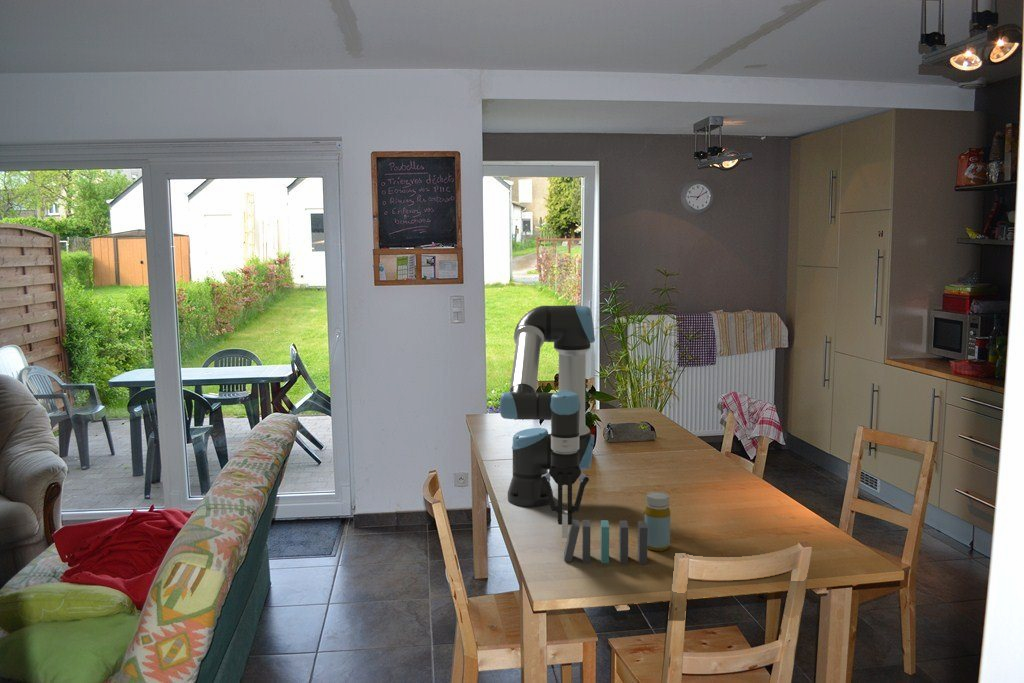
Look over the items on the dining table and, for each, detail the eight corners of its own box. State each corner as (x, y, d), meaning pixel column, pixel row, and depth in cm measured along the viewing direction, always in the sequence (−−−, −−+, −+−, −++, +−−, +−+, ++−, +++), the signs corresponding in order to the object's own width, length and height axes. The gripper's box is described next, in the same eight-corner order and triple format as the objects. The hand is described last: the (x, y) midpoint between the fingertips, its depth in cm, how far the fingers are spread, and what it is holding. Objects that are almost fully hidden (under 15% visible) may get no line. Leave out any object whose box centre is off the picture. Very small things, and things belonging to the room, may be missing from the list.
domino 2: (582, 562, 204) (582, 526, 203) (582, 555, 209) (582, 519, 208) (590, 562, 204) (590, 526, 203) (589, 555, 209) (589, 520, 208)
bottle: (666, 541, 218) (667, 490, 216) (672, 551, 211) (673, 499, 209) (641, 542, 218) (642, 491, 216) (647, 552, 211) (648, 499, 209)
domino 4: (620, 563, 204) (620, 527, 202) (619, 555, 209) (619, 520, 207) (628, 563, 203) (628, 527, 202) (626, 555, 208) (626, 520, 207)
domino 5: (639, 563, 203) (639, 527, 202) (637, 556, 208) (638, 520, 207) (647, 563, 203) (647, 527, 202) (644, 556, 208) (645, 520, 207)
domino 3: (601, 563, 204) (601, 527, 203) (600, 555, 209) (600, 520, 208) (609, 563, 204) (609, 527, 202) (607, 555, 209) (608, 520, 207)
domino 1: (564, 560, 205) (572, 525, 203) (564, 553, 209) (572, 519, 208) (571, 562, 204) (579, 527, 203) (571, 554, 209) (579, 520, 208)
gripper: (540, 454, 200) (540, 540, 203) (590, 454, 199) (589, 541, 202) (541, 446, 207) (541, 529, 210) (589, 447, 206) (588, 530, 209)
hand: (564, 535), depth 206 cm, fingers closed
